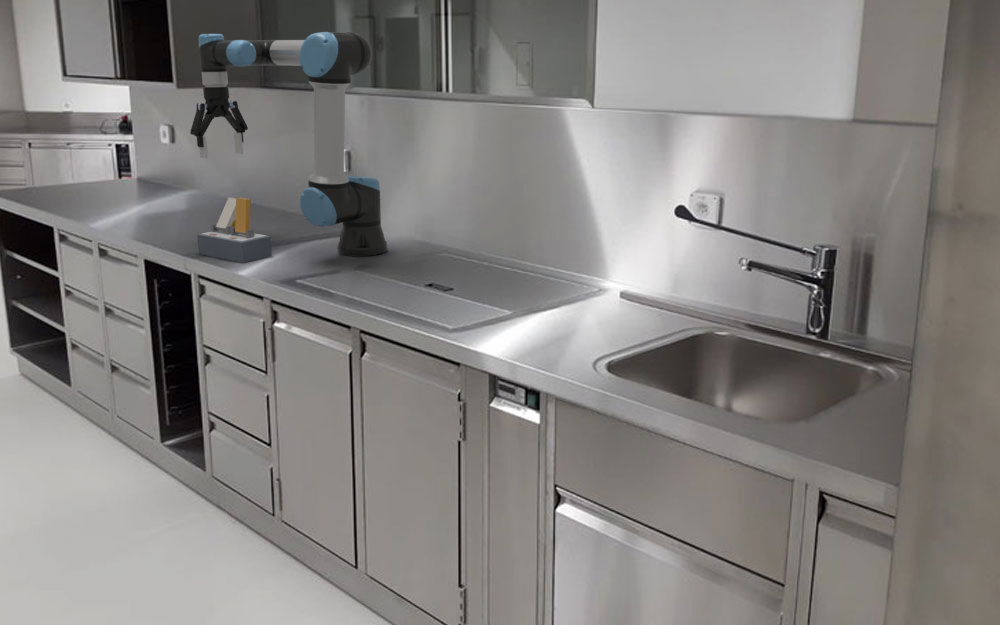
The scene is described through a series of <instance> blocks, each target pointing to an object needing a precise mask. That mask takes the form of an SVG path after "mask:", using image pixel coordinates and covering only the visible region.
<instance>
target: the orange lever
mask: <svg viewBox="0 0 1000 625" xmlns="http://www.w3.org/2000/svg"><path fill="white" fill-rule="evenodd" d="M251 201H252V200H251V199H250V198H245V197H244V198H243V197H236V221H235V230H234V233H236V234H241V235H246V230H251Z"/></svg>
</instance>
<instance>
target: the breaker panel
mask: <svg viewBox="0 0 1000 625" xmlns="http://www.w3.org/2000/svg"><path fill="white" fill-rule="evenodd" d="M217 223H218V222H217ZM217 223H212V224H211V225H210V228H211V231H209V232H203V233H199V234H197V243H198V244H197V245H198V246H197V247H198V255H201V256H206V257H211V258H217V259H222V260H226V261H231V262H236V263H241V264H244V263H249V262H252V261H257V260H261V259H266V258H269V257H273V251H272V239H271V238H272V236H270V235H264V234H259V233H255V231H254V229H253V228H250V230H246V235H241V234H236V233H234V230H235V227H233V226H228V227H226V232H224V231H219V230H215V226H216V225H217Z"/></svg>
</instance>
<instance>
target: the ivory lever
mask: <svg viewBox="0 0 1000 625" xmlns="http://www.w3.org/2000/svg"><path fill="white" fill-rule="evenodd" d="M236 198H237V197H236ZM236 198H234V197H227V200H226V202H225V205H224V207H223V210H222V212H221V214H220V216H219V218H218V221H217V225H216V226H215V230H219V231H224V232H226V227H228V226H232V223H233V221H234V219H235V216H236Z"/></svg>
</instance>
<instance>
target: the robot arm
mask: <svg viewBox="0 0 1000 625" xmlns="http://www.w3.org/2000/svg"><path fill="white" fill-rule="evenodd" d="M198 52H199V59H200V62H199V63H200V70H201V80H202V85H203V86H204V87H203V88H202V90H203V98H204V101H205V103H201V102H200V103H199V102H197V103H196V111H195V115H194V118H193V120H192V121H193V122H192V126H191V128H190V133H189V134H190V135H191V136H194V137H196V145H197V147H198V148H199V155H200V158H201V159H209V153H208V145H207V144H208V143H207V136H204V135H205V134H206V132H207V129H208V128H209V126H210V124H211V123H212V121H213V120H214V119H215V118H221V117H222V118H224V119H225V120H226V121H227V122H228V124H229V125H230V126H231V128H233V129H234V131H235V132H233V136H234V137H233V138H234V149H235V154H238V155H239V154H240V155H241V154H244V149H243V148H244V147H243V143H244V133H245V132H246V131H248V128H249V127H248V124H247V123H246V121H245V119H244V117H243V115H242V113H241V111H240V109H239V105H238V101H236V100H230V101H229V99H230V92H229V91H230V90H229V87H228V86H227V85H229V80H228V68H227V67H239V68H241V67H245V68H246V67H254V66H255V67H256V66H294V67H295V66H296V67H297V66H299V67H301V68H302V71H303V72H304V73H305V74H306V75H307V76H308V77H307V79H308V83H309V84H310V86H311V87H312V88H313V173H312V174H311V175H310V176H309V177H308V179H307V182H308V183H307V184H308V187H307V188H305V189H304V190H303V191H302V193H301V194H300V197H299V206H300V209H301V212H302V215H303V216H304V217H305V218H306V220H307V221H308V223H310V224H312V225H313V226H315V227H321V228H322V227H333V226H334V225H338V224H342V229H341V233H340V237H339V242H338V243H337V253H339V254H340V255H343V256H349V257H350V256H351V257H371V255H372V256H378V255H377V254H379V255H382V254H384V252H385V253H386V251H387V252H388V242H387V240H386V238H385V235H384V231H383V228H382V221H381V220H382V219H381V218H382V217H381V214H382V213H381V190H380V182H379V180H378V178H375V177H373V176H372V177H371V176H359V175H346V174H345V127H346V126H345V123H346V122H345V120H346V119H345V118H346V117H345V116H346V114H345V112H346V108H345V107H346V89H347V88H348V87H349V86H350V85H351V80H352V79H351V76H354V75H359V74H361V73H363V72H364V71H366V70H367V69H368V68H369V66H370V65H371V62H372V60H373V48H372V46H371V44H370V42H369V41H368V39H367V38H366V37H365V36H363V35H362V34H360V33H356V32H351V31H350V32H344V31H343V32H338V31H337V32H336V31H335V32H334V31H332V32H330V31H321V32H314V33H312V34H309V35H308V36H307V37H306V38H305V39H279V40H278V39H268V40H267V39H262V40H259V39H257V40H256V39H255V40H254V39H251V40H250V39H249V40H248V39H234V40H232V39H231V40H225V37H224V35H223V34H222V33H201V34H200V35H198ZM205 111H206V112H205ZM381 253H382V254H381Z"/></svg>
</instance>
